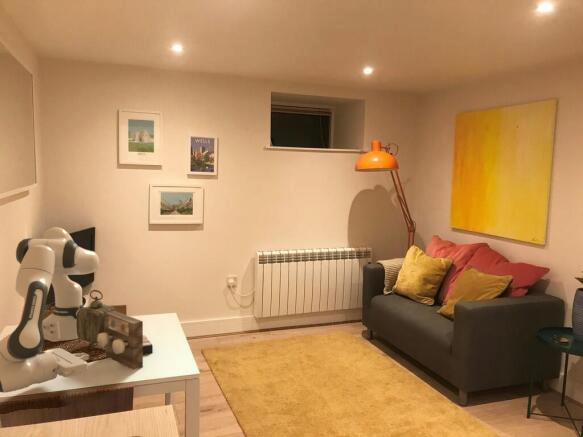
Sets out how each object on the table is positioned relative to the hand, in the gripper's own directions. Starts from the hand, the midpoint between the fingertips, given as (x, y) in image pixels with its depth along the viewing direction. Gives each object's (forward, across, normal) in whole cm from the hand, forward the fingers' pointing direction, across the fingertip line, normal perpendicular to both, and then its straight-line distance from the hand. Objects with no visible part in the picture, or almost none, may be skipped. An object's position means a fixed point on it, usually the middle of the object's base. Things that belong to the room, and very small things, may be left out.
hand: (86, 355), depth 172 cm
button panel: (+18, +5, +9) cm, 20 cm away
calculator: (+28, +14, +10) cm, 33 cm away
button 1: (+15, +11, +3) cm, 18 cm away
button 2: (+15, 0, +2) cm, 15 cm away
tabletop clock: (+18, +26, +9) cm, 33 cm away
